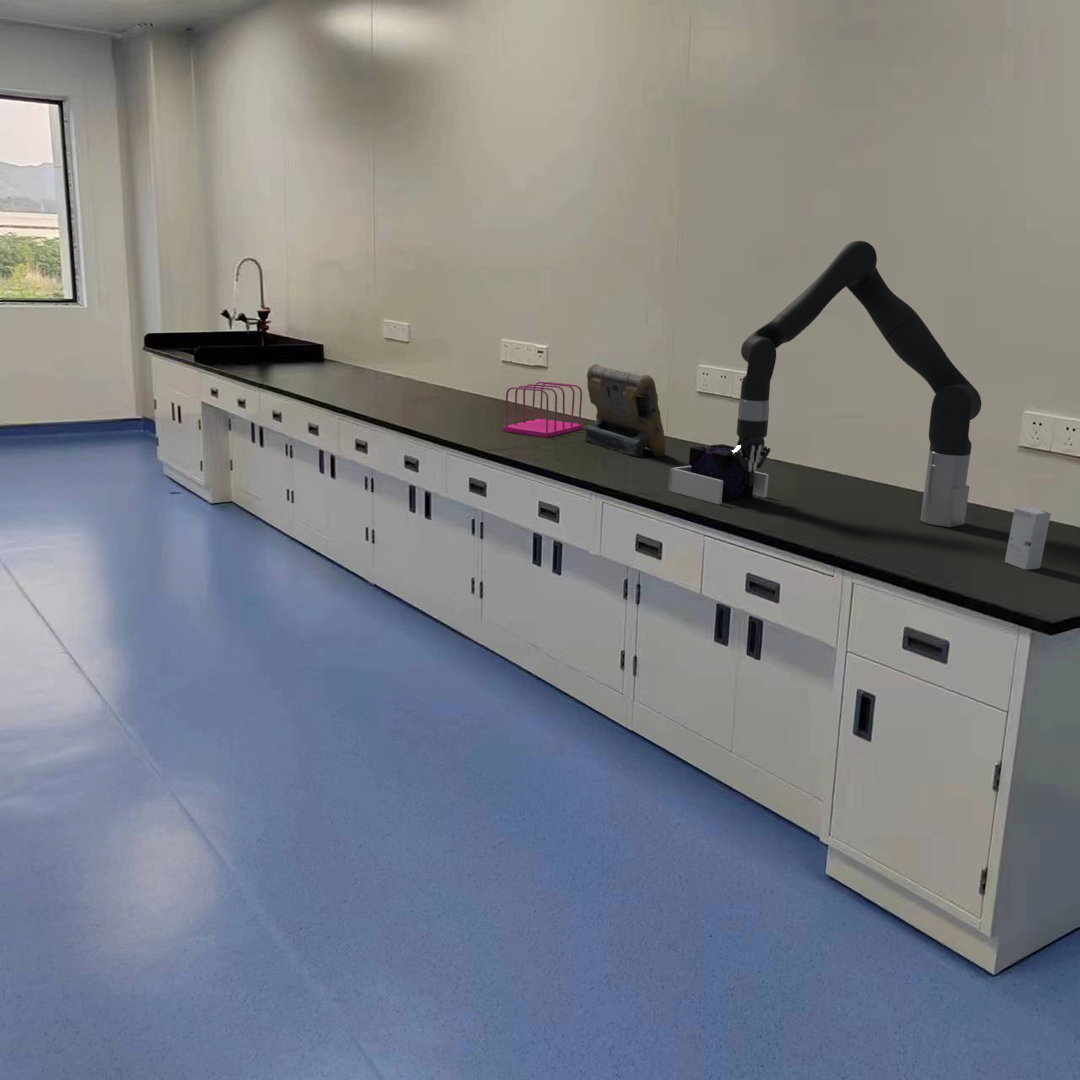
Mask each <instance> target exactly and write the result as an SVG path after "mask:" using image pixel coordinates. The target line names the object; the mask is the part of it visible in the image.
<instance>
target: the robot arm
mask: <svg viewBox="0 0 1080 1080" xmlns="http://www.w3.org/2000/svg"><path fill="white" fill-rule="evenodd" d="M877 263H878V256H877V252H876V249H875V247H874V246H873V245H872V244H871V243H870V242H867V241H863V240H856V241H855V240H854V241H851V242H850V243H848V244H846V245H845V246H844V247H843V248H842V249H841V251H840V252H839V253H838V254H837V255H836V257H834V259H833V260H832V262H830V264H829V266H827V267H826V268H825V270H824V271H823V272H822V273H821V274H820V275H819V276H818V277H817V278H816V279H815V280H814V281H813V282H812V283H811V284H810V285H809V286H807V288H805V290H804V291H803V292H801V293H800V294H799V295H798V296H797V297H796V298H795V299H794V300H793V301H791V303H789V304H788V305H786V307H785V308H783V309H782V311H781V312H779V313H778V314H776V316H775V317H774V318H773V319H772V320H771V321H769V322H767V323H766V324H764V325H763V326H761V327H760V328H758V329H757V330H755V331H754V332H752V333H751V334H750V335H749V336H748V337H747V338H746V339H745V340H744V342H742V344H741V345H742V346H741V350H740V353H741V357H742V359H743V360H744V361H745V362H746V363H747V367H746V368H747V369H746V374H745V376H744V377H743V378H742V380H741V387H740V397H739V398H740V399H739V403H738V404H739V405H738V411H737V421H736V422H737V423H736V435H737V436H738V441H737V444H736V445H737V446H736V447H735V448H734V449H735V450H731V451H730V455H731V456H732V458H733V460H734V462H735V464H736V466H737V468H739V469H741V470H742V471H743V474H742V484H743V485H745V486H752V485H753V482H754V472H755V471H756V472H757V469H761V468H762V466H763V465H764V463H765V460H766V459H767V458H768V455H769V454H770V452H771V448H770V447H768V446H766V445H765V444H766V442H765V438H766V437H767V435H768V430H769V429H768V425H769V418H770V417H769V415H770V414H769V413H770V403H769V402H770V392H771V391H770V390H771V380H772V377H773V375H774V371H775V365H776V360H777V349H778V348H779V347H780V346H781V345H783V344H787V343H789V342H791V341H792V340H794V339H796V337H797V336H799V335H800V334H801V333H802V332H803V331H804V330H805V329H807V328H808V327H809V325H811V324H812V323H813V322H814V321H815V320H816V318H818V317H819V315H820V314H821V313H822V312H823V310H824V309H825V308H826V307H827V306H828V304H829V303H830V302H831V301H833V299H834V298H835V297H836V296H837V295H838V294H839V293H840V292H841V291H842V290H844V289H845V288H847V289H848V290H849V292H850V293H851V294H853V296H854V297H855V298H856V299H857V300H858V301H859V302H860V304H861V305H862V306H863V307H864V308H865V309H866V312H867V313H868V315H869V316H870V318H871V320H872V321H873V323H874V325H875V326H876V328H877V329H878V331H879V332H880V334H881V335H882V336H883V338H884V339H885V341H886V342H887V343H888V345H889V346H890V347H891V349H892V350H893V352H894V353H895V354H896V355H897V356H898V357H899V359H901V360H902V361H903V362H904V364H905V365H907V366H908V367H910V368H911V369H912V370H913V371H915V372H916V373H917V374H919V375H920V376H921V377H922V378H923V379H924V380H925V381H926V382H927V384H928V385H929V386H930V388H931V389H932V391H933V392H934V394H935V395H934V397H933V399H932V403H931V406H930V407H931V408H930V415H929V416H930V418H929V426H928V427H929V429H928V439H929V451H928V452H929V453H928V458H927V459H928V460H927V464H926V465H927V467H926V474H925V481H924V489H923V496H922V504H921V511H920V514H921V515H920V521H921V522H922V523H925V524H929V525H933V526H939V527H947V528H953V527H958V526H963V525H965V523H966V521H965V520H966V515H967V506H968V501H969V500H968V499H969V494H970V485H967V482H968V473H969V466H970V459H971V452H972V441H971V440H970V437H969V436H970V435H969V433H970V425H971V424H970V423H971V420H973V419H975V418H976V417H978V415H979V414H980V411H981V409H982V399H981V395H980V392H979V391H978V390H977V389H976V388H975V386H974V385H973V384H972V383H971V382H970V381H969V380H968V379H967V378H966V377H965V376H964V375H963V373H962V372H961V371H960V370H959V369H958V368H957V367H956V366H955V365H954V364H953V363H952V361H951V360H950V357H948V355H947V354H946V352H945V351H944V349H943V348H942V346H941V345H940V344H939V342H938V340H937V339H936V338H935V336H933V334H932V332H931V331H930V329H929V328H928V326H927V325H926V323H925V322H924V321H923V320H922V318H921V317H920V315H919V314H918V313H917V312H916V311H915V310H914V308H913V307H911V305H909V303H907V302H905V301H904V300H903V299H901V298H900V297H898V296H897V295H896V294H895V293H894V292H893V291H892V289H890V288H889V286H888V285H887V283H886V281H884V279H883V278H882V276H881V274H880V271H879V270H878V268H877ZM746 462H747V464H746Z"/></svg>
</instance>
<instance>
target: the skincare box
mask: <svg viewBox="0 0 1080 1080" xmlns="http://www.w3.org/2000/svg"><path fill="white" fill-rule="evenodd" d="M1051 514H1052V513H1051V512H1048V511H1045V510H1042V509H1039V508H1035V507H1031V506H1028V505H1027V506H1018V507H1017V506H1016V507H1014V511H1013V516H1012V522H1011V527H1010V532H1009V538H1008V543H1007V547H1006V554H1005V559H1004V562H1005V563H1006V564H1009V565H1011V566H1014V567H1017V568H1019V569H1022V570H1025V571H1026V570H1037V569H1040V568H1041V564H1042V561H1043V555H1044V549H1045V545H1046V540H1047V535H1048V529H1049V524H1050V520H1051Z"/></svg>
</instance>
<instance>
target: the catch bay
mask: <svg viewBox="0 0 1080 1080" xmlns="http://www.w3.org/2000/svg"><path fill="white" fill-rule="evenodd" d="M668 473H669V474H668V487H667V488H668V492H672V493H675V494H679V495H683V496H685V497H690V498H694V499H697V500H701V501H704V502H707V503H711V504H712V503H713V504H715V505H722V502H723V501H722V490H723V480H719V479H715V478H711V477H707V476H703V475H699V474H695V473H691V465H685V466H678V467H677V466H676V467H670V468H669V472H668ZM769 476H770V475H769V474H767V473H763V472H760V471H757V470H756V471H755V472H754V485H753V496H757V497H760V498H767V495H768V486H769Z"/></svg>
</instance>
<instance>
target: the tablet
mask: <svg viewBox="0 0 1080 1080" xmlns="http://www.w3.org/2000/svg"><path fill="white" fill-rule="evenodd" d="M587 370H588V371H587V373H586V380H587V390H588V396H589V399H590V403H591V404H592V405H593V406H595V408H596V415H595V417H596V418H595V421H594V423H592V424H588V425H586V426H585V442H589V443H591V444H594V445H597V446H598V447H603V448H605V449H609V450H612V451H615V452H618V453H623V454H625V455H630V456H632V457H638V458H643V457H644V456H645V452H644V450H645V448H648V450H649V451H650V452H651V453H652V454H653V455H654V456H655V457H659V458H660V457H664V456H666V450H667V442H666V437H665V430H664V427H663V423H662V418H661V411H660V409H659V408H660V407H659V405H658V404H659V397H658V396H659V395H658V393H657V392H658V391H657V389H656V382H655V380H654V378H653V377H652V376H651V375H649V374H643V375H640V374H637V373H633V372H630V371H624V370H618V369H613V368H608V367H605V366H601V365H600V364H598V363H594V364H592V365H590V366H589V367H588V369H587Z"/></svg>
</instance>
